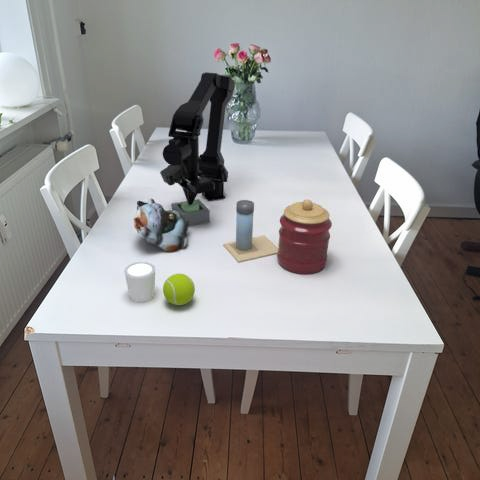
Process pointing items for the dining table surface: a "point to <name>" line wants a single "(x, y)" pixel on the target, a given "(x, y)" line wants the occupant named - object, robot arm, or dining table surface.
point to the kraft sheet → (253, 249)
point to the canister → (304, 237)
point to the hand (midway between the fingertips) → (190, 204)
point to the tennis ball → (179, 289)
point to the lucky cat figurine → (161, 226)
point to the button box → (194, 213)
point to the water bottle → (244, 225)
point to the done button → (189, 206)
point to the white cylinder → (140, 281)
